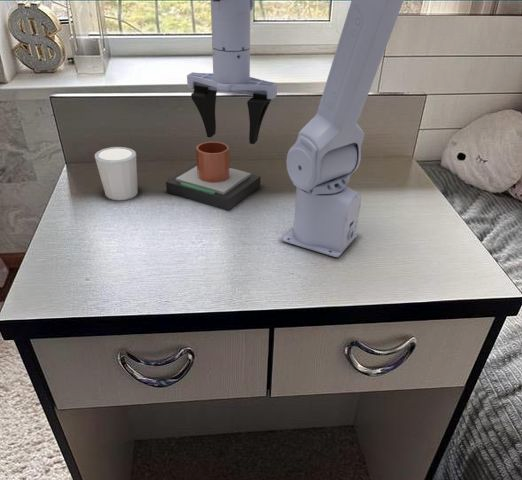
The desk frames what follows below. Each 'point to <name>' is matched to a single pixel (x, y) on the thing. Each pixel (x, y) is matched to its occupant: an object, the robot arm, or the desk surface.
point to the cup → (213, 161)
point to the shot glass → (118, 172)
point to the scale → (214, 187)
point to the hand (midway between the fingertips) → (232, 138)
